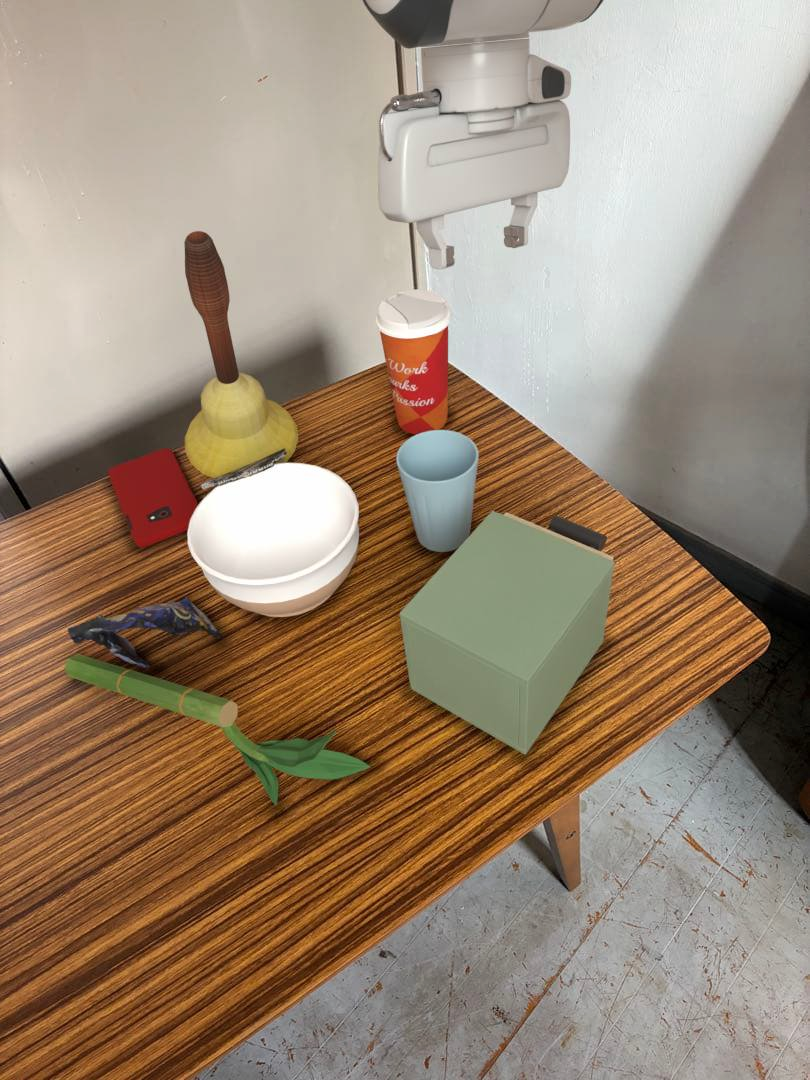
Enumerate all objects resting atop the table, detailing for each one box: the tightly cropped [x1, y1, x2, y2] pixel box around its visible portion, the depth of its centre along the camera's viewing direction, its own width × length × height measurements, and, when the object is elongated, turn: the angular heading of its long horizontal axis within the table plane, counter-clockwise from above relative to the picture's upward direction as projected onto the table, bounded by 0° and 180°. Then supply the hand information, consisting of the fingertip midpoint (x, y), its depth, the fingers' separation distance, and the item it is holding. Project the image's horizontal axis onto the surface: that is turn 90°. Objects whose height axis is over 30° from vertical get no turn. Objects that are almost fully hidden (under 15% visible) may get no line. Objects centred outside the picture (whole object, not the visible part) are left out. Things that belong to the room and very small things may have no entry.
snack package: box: [67, 596, 223, 671], centre depth 71 cm, size 12×6×12 cm
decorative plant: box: [63, 653, 371, 807], centre depth 66 cm, size 6×8×30 cm
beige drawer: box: [503, 511, 614, 561], centre depth 68 cm, size 17×10×9 cm, turn 143°
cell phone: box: [107, 447, 200, 548], centre depth 89 cm, size 8×15×1 cm, turn 27°
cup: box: [395, 429, 480, 553], centre depth 78 cm, size 8×8×10 cm
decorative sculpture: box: [199, 448, 287, 490], centre depth 83 cm, size 20×1×10 cm
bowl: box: [186, 462, 360, 618], centre depth 76 cm, size 16×16×8 cm
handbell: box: [184, 230, 299, 479], centre depth 76 cm, size 12×12×25 cm
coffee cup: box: [374, 289, 452, 435], centre depth 90 cm, size 8×8×15 cm
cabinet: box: [399, 510, 616, 755], centre depth 66 cm, size 13×11×10 cm
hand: (480, 256), depth 73 cm, fingers open, 8 cm apart
